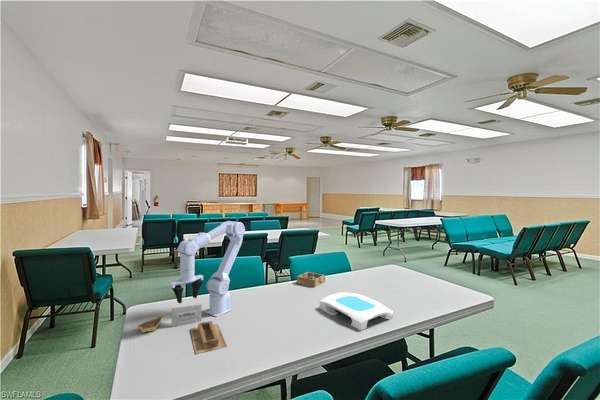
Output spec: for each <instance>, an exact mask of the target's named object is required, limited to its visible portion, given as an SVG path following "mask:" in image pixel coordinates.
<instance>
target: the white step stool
mask: <svg viewBox="0 0 600 400" xmlns="http://www.w3.org/2000/svg"><path fill="white" fill-rule="evenodd" d="M319 309H320V310H321V311H323V312H324V311H325V312H324V313H326V312H327V313H326V314H329V315H331V316H333V317H334V315H335V316H337V315H339V313H338V312H337V311H339V312H341V313H342V314H344V315H345V316H348V317H349V318H350V319H351V323H350V324H351V325H350V326H351V327H352V326H353V328H354V327H355V328H354V329H356V328H357V329H356V330H358V329H359V330H358V331H364V330H363V329H365V328H368V322H369V321H370V320H372V319H374V318H377V317H379V316H380V317H379V318H381V317H382V318H381V319H384V320H386V319H390V320H392V318H394V311H393V310H392V309H390V308H388V307H387V306H386V305H384V304H383V303H381V302H379V301H377V300H374V299H372V298H370V297H367V296H365V295H363V294H358V293H354V292H352V293H351V292H344V291H343V292H341V291H340V292H337V293H333V294H330V295H327V296H325V297H324V298H322V299H320V300H319ZM335 310H337V311H335ZM336 314H337V315H336ZM365 330H366V329H365Z"/></svg>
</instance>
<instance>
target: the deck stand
mask: <svg viewBox="0 0 600 400" xmlns="http://www.w3.org/2000/svg"><path fill="white" fill-rule="evenodd" d="M312 272H313V271H312ZM312 272H310V271H306V272H304V273H302V274H299V275H297V276H296V284H297V285H300V286H306V287H310V288H316V287H318V286H320V285H321V284H324V283H326V275H325V274H322V273H321V274H320V273H316V272H313V273H312ZM311 274H314V275H311ZM309 277H310V278H309ZM313 277H315V278H316V279H315V278H313ZM312 278H313V279H312Z"/></svg>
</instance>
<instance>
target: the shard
mask: <svg viewBox="0 0 600 400" xmlns="http://www.w3.org/2000/svg"><path fill="white" fill-rule="evenodd" d="M163 317H164V315H161V316H159V317H157V318H156V317H155V318H152V319H150V320H148V321H144V322H142V323H139V324H137V326H136V328H137V330H139V331H141V332H142V333H143V334H145V333H146V332H153V331H155V330H156V329H157V328H158V326H160V324H161V322H162V320H163Z"/></svg>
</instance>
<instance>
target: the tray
mask: <svg viewBox="0 0 600 400" xmlns="http://www.w3.org/2000/svg"><path fill="white" fill-rule="evenodd" d="M190 336H191V340H192V344H193V350H194V354H195V356H196V355H198V354H203V353H207V352H212V351H215V350H220V349H225V348H227V347H228V345H227V343H226V340H225V338H224V335H223V333H222V330H221V328H220V326H219V323H214V324H213V321H212V320H209V321H205V322H203V321H202V322H200V323H199V322H197V327H192V328H191V327H190Z"/></svg>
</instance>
